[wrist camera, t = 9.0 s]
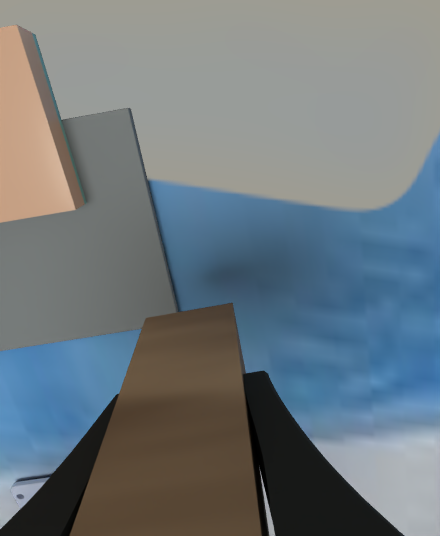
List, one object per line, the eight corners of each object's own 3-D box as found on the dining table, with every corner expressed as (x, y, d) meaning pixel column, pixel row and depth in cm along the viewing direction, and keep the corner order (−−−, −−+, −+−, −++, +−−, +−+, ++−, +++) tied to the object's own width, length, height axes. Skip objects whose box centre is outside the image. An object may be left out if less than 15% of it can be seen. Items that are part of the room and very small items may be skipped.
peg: (246, 374, 14) (299, 747, 5) (166, 387, 14) (99, 771, 6) (232, 302, 13) (273, 634, 4) (145, 318, 13) (24, 667, 4)
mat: (179, 317, 20) (179, 322, 20) (-56, 354, 21) (-64, 360, 20) (130, 108, 16) (127, 108, 16) (-162, 161, 17) (-175, 162, 16)
